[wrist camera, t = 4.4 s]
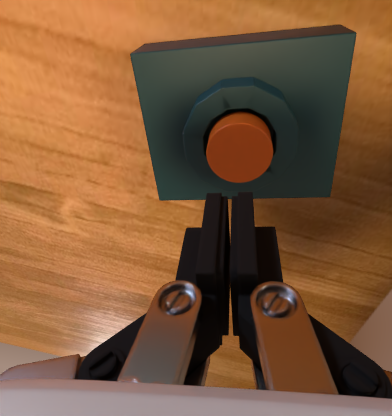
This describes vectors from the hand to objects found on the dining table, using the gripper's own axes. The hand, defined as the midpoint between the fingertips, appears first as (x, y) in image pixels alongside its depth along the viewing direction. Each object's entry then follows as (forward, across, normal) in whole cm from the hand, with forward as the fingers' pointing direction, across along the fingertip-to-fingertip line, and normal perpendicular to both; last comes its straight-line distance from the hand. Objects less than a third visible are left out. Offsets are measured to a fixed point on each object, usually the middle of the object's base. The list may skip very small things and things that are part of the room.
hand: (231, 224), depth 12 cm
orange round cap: (+8, 0, 0) cm, 8 cm away
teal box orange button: (+13, 0, 0) cm, 13 cm away
